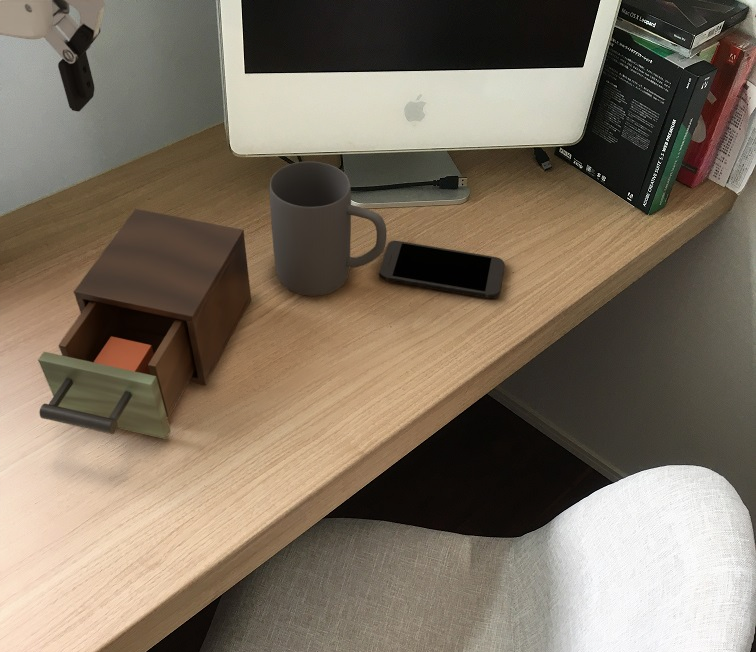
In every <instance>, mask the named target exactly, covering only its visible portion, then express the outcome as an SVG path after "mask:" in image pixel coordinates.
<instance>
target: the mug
mask: <svg viewBox="0 0 756 652" xmlns="http://www.w3.org/2000/svg"><path fill="white" fill-rule="evenodd" d="M269 207H270V223H271V224H270V225H271V236H272V249H273V259H274V268H275V274H276V277H277V279H278V281H279V282H280V284H281V285H282V286H283V287H284V288H285V289H287V290H289V291H290V292H292V293H295V294H298V295H303V296H307V297H308V296H309V297H310V296H311V297H317V296H323V295H328V294H331V293H333V292H336V291H338V289H340V288H341V287H342V286H344V285H345V284H346V282H347V279H348V277H349V273H350V268H359V267H364V266H366V265H368V264H371V262H374V261H375V260H377V259H378V258H379V257H380V256H382V255H383V252H385V251H384V250H385V249H386V246H387V245H386V244H387V232H388V231H387V226H386V222H385V220H384V218H383V217H382V216H381V214H379V213H378V212H376V211H374V210H371V209H368V208H366V207H361V206H357V205H353V204H352V189H351V182H350V179H349V177H348V176H347V174H346V173H345V172H343V170H341V169H339V168H338V167H336V166H334V165H332V164H329V163H325V162H319V161H297V162H294V163H290V164H287V165H284V166H282V167H281V168H279V169H278V170H277V171H275V172H274V174H272V176H271V178H270V183H269ZM352 216H354V217H358V218H362V219H365V220H368V221H371V222H372V223H373V225H374V228H375V230H376V240H375V245H374V247H372V248H371V249H370V250H368V251H367V252H366V253H364V254H361V255H360V256H353V257H352V256H351V238H352V237H351V236H352V233H351V232H352Z"/></svg>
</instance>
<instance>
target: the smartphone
mask: <svg viewBox="0 0 756 652" xmlns="http://www.w3.org/2000/svg"><path fill="white" fill-rule="evenodd" d="M505 267H506V264H505V261H504V260H503V259H502V258H500V257H498V256H492V255H485V254H480V253H474V252H469V251H468V252H467V251H461V250H455V249H449V248H444V247H438V246H432V245H425V244H419V243H414V242H407V241H403V240H402V241H401V240H391V241H389V242H388V243H387V245H386V247H385V251H384V254H383V257H382V260H381V264H380V267H379V270H378V278H380V279H381V280H382V281H386V282H390V283H391V282H392V283H397V284H404V285H408V286H409V285H410V286H416V287H421V288H426V289H433V290H439V291H444V292H451V293H457V294H462V295H468V296H473V297H474V296H475V297H480V298H486V299H495V298H497V297H499V296H500V294H501V291H502V285H503V279H504V273H505V269H506V268H505Z"/></svg>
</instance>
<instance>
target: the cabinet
mask: <svg viewBox="0 0 756 652" xmlns="http://www.w3.org/2000/svg"><path fill="white" fill-rule="evenodd" d="M247 258H248V257H247V248H246V240H245V230H244V229H241V228H237V227H231V226H226V225H222V224H215V223H211V222H207V221H206V222H205V221H201V220H195V219H190V218H186V217H181V216H175V215H170V214H165V213H160V212H156V211H155V212H154V211H149V210H146V209H140V208H134V209H133V211H132V212H131V214H129V216H128V217H127V218H126V220H125V222H124V223H123V224H122V226H121V227H120V228H119V230H118V231H117V232H116V234H115V235H114V236H113V238H112V239H111V240H110V242H109V243H108V244H107V246H106V247H105V249H104V250H103V251H102V252H101V254H100V255H99V256H98V258H97V259H96V261H95V262H94V263H93V264H92V266H91V267H90V269H88V271H87V273H86V274H85V275H84V277H82V280H80V282H79V284H78V285H77V286H76V287H75V288H74V290H73V294H74V298H75V300H76V303H77V307H78V308H79V312H80V314H81V313H82V311H83V310H84V308H85V307H86V306H87V304H88V303H89V302H90V301H95V302H100V303H105V304H109V305H114V306H119V307H123V308H128V309H133V310H138V311H142V312H147V313H152V314H157V315H161V316H166V317H171V318H176V319H180V320H185V321H187V326H188V331H189V336H190V341H191V346H192V351H193V356H194V361H195V365H196V370H195V371H194V373H193V375H192V377H191V379H190V381H189V382H190V383H195V384H199V385H204V386H207V383H208V381H209V380H210V379H211V376H212V374H213V372H214V371H215V369H216V367H217V365H218V363H219V361H220V359H221V358H222V356H223V354H224V352H225V350H226V349H227V346H228V344H229V342H230V340H231V338H232V336H233V334H234V333H235V331H236V329H237V327H238V325H239V324H240V322H241V320H242V318H243V316H244V314H245V312H246V311H247V309H248V307H249V305H250V303H251V301H252V294H251V285H250V276H249V267H248V259H247ZM189 382H188V383H189Z"/></svg>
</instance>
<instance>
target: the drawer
mask: <svg viewBox="0 0 756 652" xmlns="http://www.w3.org/2000/svg"><path fill="white" fill-rule="evenodd" d="M111 336H112V337H117V338H121V339H126V340H130V341H134V342H139V343H143V344H148V345H151V346H152V349H153V353H154V356H153V357H152V359H151V361H150V362H149V364H148V367H149V370H150V374H151V375H148V374H144V373H139V372H135V371H130V370H126V369H121V368H117V367H112V366H108V365H103V364H98V363H94V361H95V359H96V358H97V356H98V355H99V353H100V352H101V350H102V349H103V347H104V346H105V345H106V343H107V342H108V340H109V339H110V337H111ZM58 349H59V350H60V354H57V353H53V352H48V351H43V352H42V354H41V355H40V356H39V358H37V362H38V363H39V366H40V368H41V370H42V373H43V375H44V377H45V380H46V382H47V384H48V387H49V389H50V392H51V394H52V396H53V397H52V398H51V399H50V401H49V402H48V403H43V404H42V405H41V406H40V408H39V417H40V418H41V419H43V420H48V421H52V422H56V423H60V424H65V425H69V426H75V427H78V428H82V429H87V430H91V431H95V432H100V433H104V434H108V435H109V434H110V435H114V434H115V433H116V432H117V429H120V430H125V431H128V432H133V433H136V434H141V435H145V436H150V437H151V436H152V437H154V438H159V439H162V440H167V438H168V436H169V435H170V432H171V427H170V423H169V420H168V419H169V418H170V417H171V415H172V413H173V411H174V410H175V408H176V406H177V404H178V402H179V401H180V398H181V397H182V395H183V393H184V392H185V390H186V388H187V386H188V384H189V381H190V379H191V377H192V375H193V373H194V371H195V370H196V365H195V361H194V356H193V351H192V346H191V341H190V336H189V331H188V326H187V321H185V320H180V319H176V318H171V317H166V316H161V315H157V314H152V313H147V312H142V311H138V310H133V309H128V308H123V307H119V306H114V305H109V304H105V303H100V302H95V301H90V302H89V303H88V304H87V306H86V307H85V308H84V310H83V311H82V313H81V312H80V314H79V315H78V317H77V318H76V319H75V320H74V322H73V324H72V326H71V327H70V328H69V329H68V330H67V332H66V333H65V334H64V336H63V337H62V339H61V341H60V342H59V343H58Z"/></svg>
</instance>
